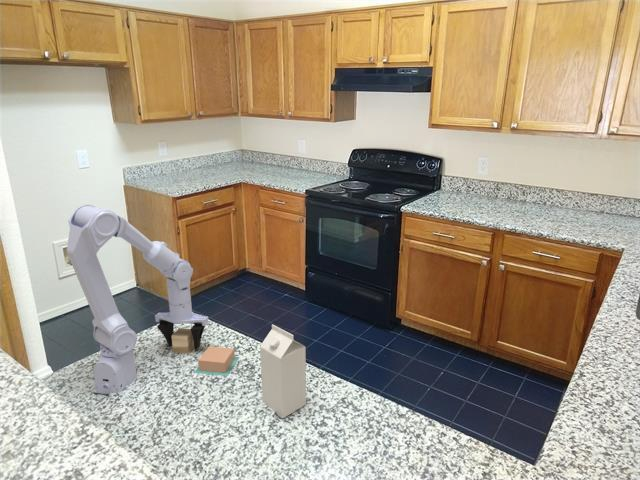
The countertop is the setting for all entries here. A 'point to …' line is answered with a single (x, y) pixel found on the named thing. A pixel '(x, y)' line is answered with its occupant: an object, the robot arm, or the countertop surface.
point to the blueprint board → (219, 373)
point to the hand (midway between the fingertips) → (184, 346)
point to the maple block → (182, 341)
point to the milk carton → (283, 372)
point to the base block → (216, 359)
